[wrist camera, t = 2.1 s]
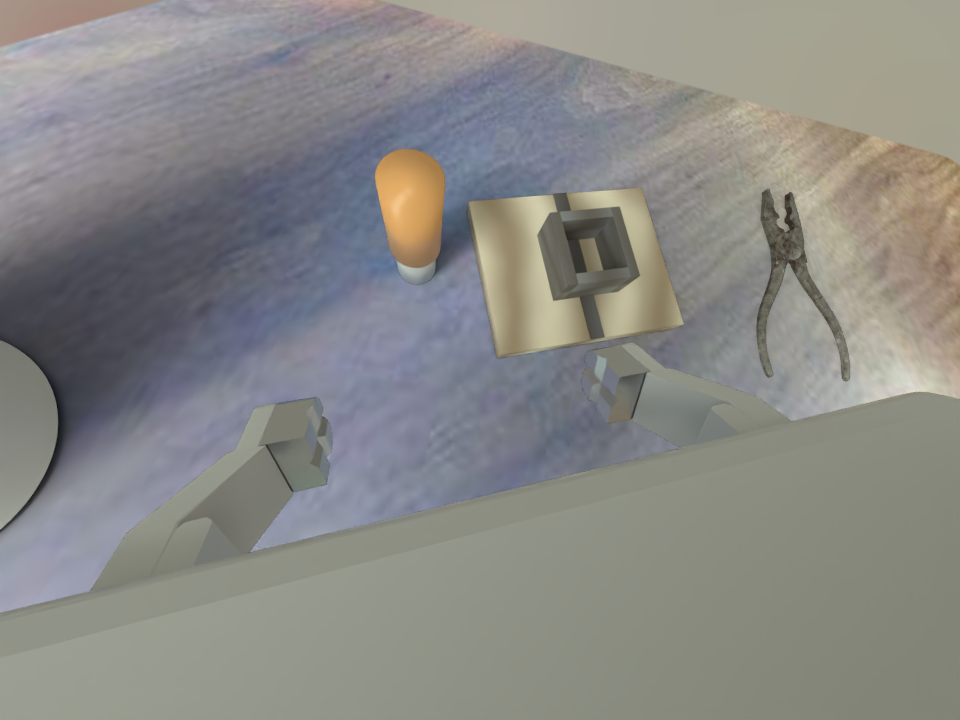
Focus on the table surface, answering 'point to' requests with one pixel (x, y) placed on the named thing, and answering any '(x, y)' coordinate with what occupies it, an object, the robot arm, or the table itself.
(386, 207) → the orange rounded handle
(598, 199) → the cream rectangular base board
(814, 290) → the pliers
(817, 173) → the table surface
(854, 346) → the table surface
